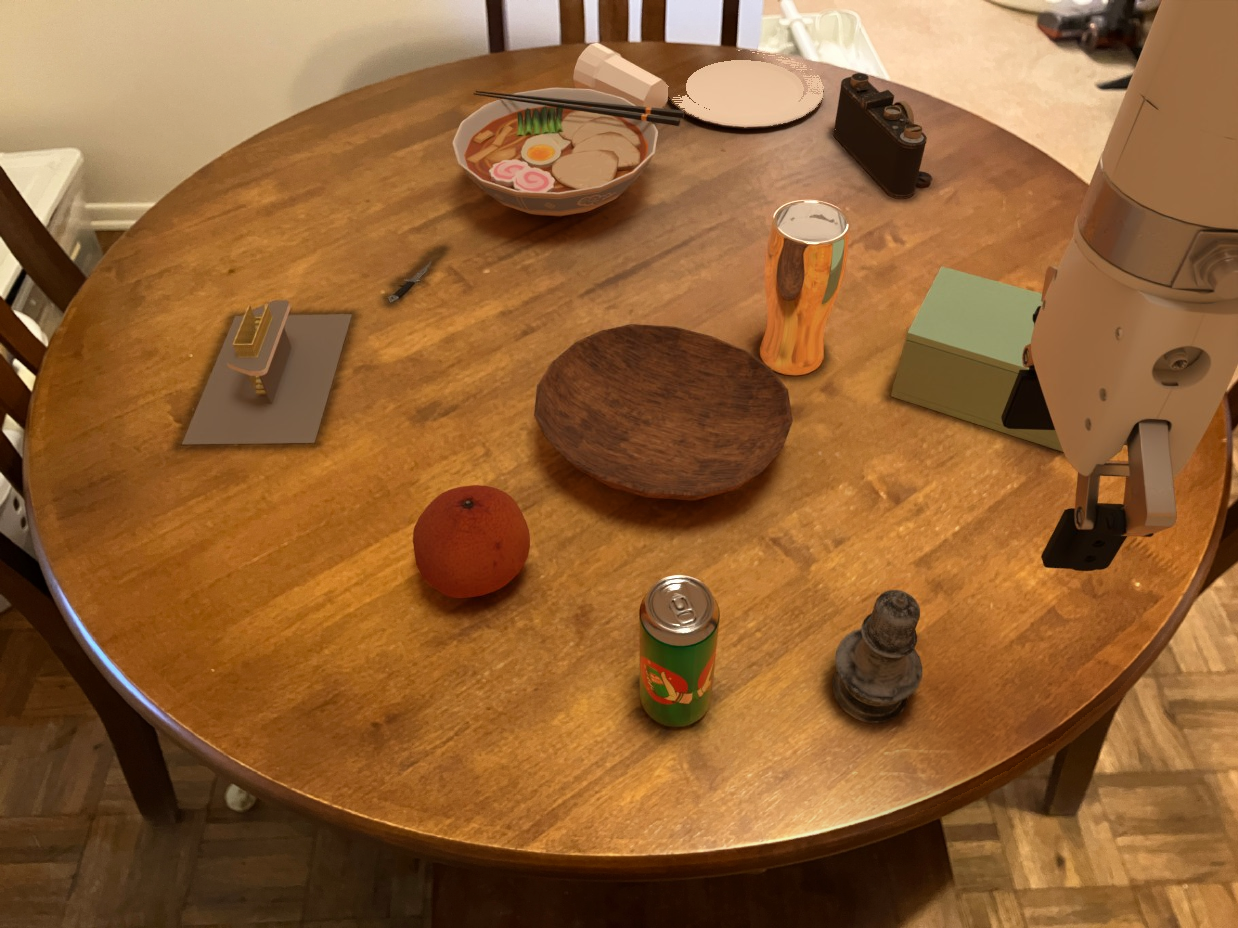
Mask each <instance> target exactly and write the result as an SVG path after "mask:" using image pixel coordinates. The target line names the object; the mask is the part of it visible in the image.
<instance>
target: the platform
mask: <svg viewBox="0 0 1238 928" xmlns="http://www.w3.org/2000/svg"><path fill="white" fill-rule="evenodd" d="M290 311H291V304H290V302H289V300H286V299H283V300H282V299H281V300H280V299H279V300H278V299H277V300H271V301H270V302H267V303H264V304H262V305H261V306H258V307H256V308H254V309H253V308H252V306H251V304H248V306H247V308H246V311H245V312H244V314H243V315H234V318H233V321H232V323H231V325H230V328H229V330H228V332H227V335H226V337H225V339H224V342H223V344H222V347H221V349H220V352H219V354H218V355H217V359H216V361H215V363H214V366H213V368H212V370H211V372H210V375H209V377H208V380H207V382H206V385H205V387H204V390H203V392H202V394H201V396H200V399H199V401H198V404H197V406H196V409H195V411H194V414H193V416H192V418H191V420H190V422H189V425H188V428H187V431H186V432H185V435H184V437H183V440H182V442H181V445H256V444H257V445H260V444H265V445H267V444H315V443H316V440H317V436H318V432H319V429H320V426H321V422H322V420H323V416H324V413H325V408H326V405H327V402H328V398H329V396H330V392H331V389H332V384H333V381H334V378H335V374H336V371H337V368H338V364H339V360H340V357H341V354H342V351H343V348H344V344H345V340H346V337H347V335H348V334H347V333H348V331H349V326H350V323H351V320H352V317H353V313H339V314H338V313H336V314H333V313H332V314H330V313H329V314H327V313H326V314H289V313H290Z"/></svg>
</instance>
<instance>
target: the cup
mask: <svg viewBox="0 0 1238 928" xmlns="http://www.w3.org/2000/svg"><path fill="white" fill-rule="evenodd" d="M573 69H574V70H573V77H572V81H573V86H574V88H576V89H592V90H596V91H599V92H603V93H607V94H611V95H614V96H618V97H622V98H624V99H626V100H627V101H629V102H631V103H633V104H634V105H636V106H641V107H648V108H662V107H663V106H664V107H666V105H667V102H668V100H669V99H668V87H669V86H668V85H667V84H666V81H665V80H664V79H662V78H660V77H658V76H656V75H654V74H653V73H650V72H649V71H647V70H645V69H643V68H642V67H640V66H638V65H637V64H634V62H633V63H632V62H631V61H629V60H628V59H625V58H624V57H623V56H622V55H621V53H620V52H617V51H615V50H614V49H612V48H610V47H608V46H606V45H604V44H603V43H599V42H594V43H590V44H589V45H588V46H586V48H584V49H583V51H582V52H581V53H580V55H579V57H578V58H577V60H576V64H575V66H574V68H573ZM649 115H651V114H649ZM657 116H660V115H657Z"/></svg>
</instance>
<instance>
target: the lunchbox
mask: <svg viewBox="0 0 1238 928" xmlns="http://www.w3.org/2000/svg"><path fill="white" fill-rule="evenodd" d="M903 344H904V345H903V348H902V352H901V356H900V359H899V364H898V367H897V372H896V375H895V378H894V382H893V386H892V390H891V392H890V393H891V394H890V397H891V398H895V399H897V400H901V401H904V402H907V403H910V404H913V405H916V406H920V407H921V408H926V409H928V410H932V411H934V412H938V413H941V414H944V415H947V416H950V417H953V418H957V419H959V420H963V421H966V422H968V423H971V424H975V425H978V426H980V427H981V426H982V427H984V428H987V429H990V430H993V431H996V432H999V433H1002V434H1005V435H1009V436H1012V437H1015V438H1018V439H1022V440H1025V441H1028V442H1030V443H1034V444H1037V445H1039V446H1044V447H1045V448H1050V449H1052V450H1055V451H1058V452H1062V453H1064V452H1063V449H1062V447H1061V444H1060V441H1059V438H1058V435H1057V433H1056V430H1031V429H1008V428H1006V427H1004V426H1003V423H1002V419H1001V416H1002V414H1003V411H1004V408H1005V406H1006V403H1007V401H1008V398H1009V396H1010V393H1011V391H1012V388H1013V386H1014V383H1015V380H1016V378H1017V375H1018V373H1016V372H1013V371H1009V370H1006V369H1003V368H999V367H996V366H993V365H990V364H986V363H983V362H980V361H976V360H973V359H970V358H966V357H963V356H960V355H956V354H953V353H950V352H946V351H943V350H940V349H936V348H933V347H930V346H927V345H923V344H920V343H917V342H913V341H910V340H907V339H906V338H905V340H904V343H903Z"/></svg>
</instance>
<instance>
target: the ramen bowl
mask: <svg viewBox="0 0 1238 928" xmlns="http://www.w3.org/2000/svg"><path fill="white" fill-rule="evenodd" d="M473 95H474V96H480V97H486V98H494V99H496V100H494V101H491V102H488V103H486V104H483V105H482V106H481V107H479V108H478V109H477V110H475V111H474V112H473V113H471V114H470V115H469V116H467V117H466V118H465V119H463V120H462V121H461V122H460V124H459V126H458V128H457V131H456V133H455V134H454V138H453V140H452V142H451V143H452V147H453V150H454V151H453V152H454V153H455V157H456V161H457V164H458V165H459V167H460V168H461V169H462V170H463V172H464V174H465V175H466V176H467V177H468V178H469V179H470V180H471V181H472V182H473V183H474V184H475V185H476V186H478V188H480V189H481V190H483V191H484V192H485V193H487V194H488V195H489V196H490V197H492V198H493V199H494V200H496V201H497V202H498V203H500V204H501V205H503V206H505V207H508V208H511V209H514V210H517V211H520V212H523V213H526V214H529V215H533V216H548V217H549V216H552V217H563V216H564V217H565V216H569V215H570V216H571V215H575V214H582V213H587V212H591V211H592V210H595V209H597V208H599V207H601V206H603V205H605V204H608V203H610V202H613V201H615V200H617V199H618V198H619V196H620V195H622V194H623V193H624V192H625V191H626V189H628V188H629V187H630V186H631V185H632V184H633V183H634V182H635V181H636V180H638V178H639V177H640V176H641V175H642V173H643V172H644V171H645V170H646V168H647V167H648V165H649V164H650V162H651V161H652V158H653V157H654V156H655V153H656V148H657V142H658V136H659V130H658V128H657V127H656V125H655V123H657V124H663V125H669V126H674V127H679V126H680V125H681V119H684V118H685V113H684V111H683V110H679V109H673V108H663V109H662V108H648V107H641V106H636V105H634V104H633V103H631V102H629V101H627V100H626V99H624V98H622V97H618V96H614V95H611V94H607V93H603V92H599V91H596V90H592V89H576V88H575V87H574V88H573V87H547V88H541V89H540V88H539V89H534V90H527V91H520V92H515V93H503V92H494V91H493V92H491V91H483V90H475V92H473ZM649 114H652V115H649ZM657 115H659V116H657Z"/></svg>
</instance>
